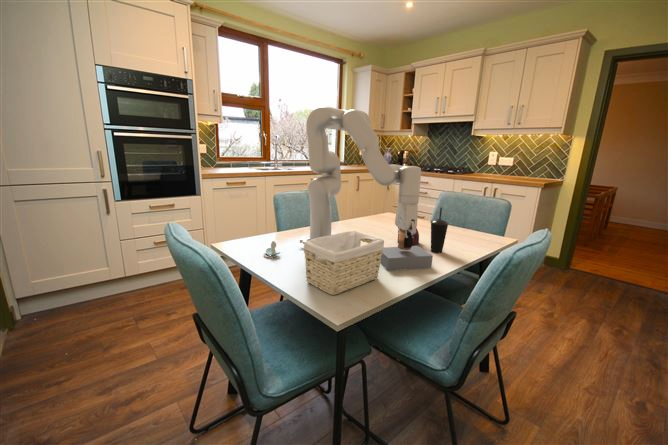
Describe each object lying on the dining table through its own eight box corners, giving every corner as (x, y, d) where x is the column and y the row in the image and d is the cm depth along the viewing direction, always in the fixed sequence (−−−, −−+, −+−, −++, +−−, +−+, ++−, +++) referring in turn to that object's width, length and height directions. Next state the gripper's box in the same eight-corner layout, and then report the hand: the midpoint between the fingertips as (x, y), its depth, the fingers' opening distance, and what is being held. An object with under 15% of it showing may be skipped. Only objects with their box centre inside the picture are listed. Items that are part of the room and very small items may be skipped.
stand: (387, 270, 115) (388, 258, 113) (376, 259, 126) (377, 247, 125) (431, 267, 118) (432, 255, 117) (416, 257, 130) (417, 245, 129)
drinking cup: (445, 250, 139) (450, 206, 135) (445, 255, 132) (450, 210, 128) (427, 247, 142) (432, 205, 137) (427, 253, 135) (431, 208, 130)
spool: (401, 250, 118) (402, 232, 116) (395, 246, 123) (397, 229, 121) (413, 249, 119) (414, 232, 117) (407, 245, 124) (408, 228, 122)
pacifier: (269, 260, 123) (282, 257, 126) (268, 245, 121) (281, 242, 125) (260, 255, 128) (273, 252, 132) (259, 241, 127) (272, 238, 130)
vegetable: (419, 252, 145) (428, 225, 138) (397, 249, 145) (406, 221, 138) (415, 240, 154) (424, 214, 147) (395, 237, 154) (402, 211, 147)
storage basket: (351, 265, 119) (352, 228, 116) (384, 279, 108) (386, 238, 104) (301, 282, 104) (301, 240, 100) (333, 300, 92) (334, 254, 89)
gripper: (390, 195, 123) (387, 239, 128) (409, 203, 107) (404, 253, 112) (407, 195, 125) (404, 238, 129) (428, 203, 109) (423, 252, 113)
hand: (404, 244), depth 120 cm, fingers closed on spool, 4 cm apart
